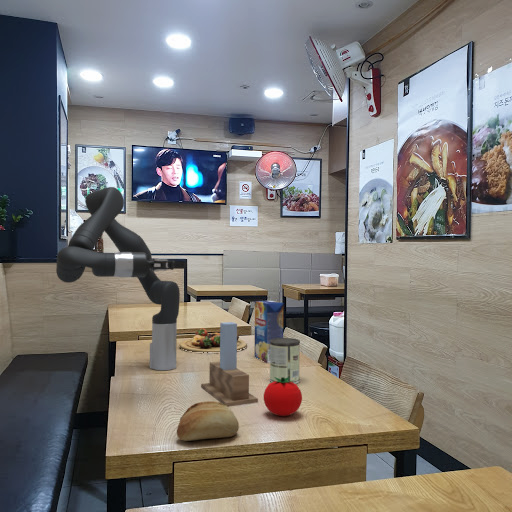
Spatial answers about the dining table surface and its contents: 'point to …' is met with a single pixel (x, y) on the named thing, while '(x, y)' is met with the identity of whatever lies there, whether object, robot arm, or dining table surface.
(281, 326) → the juice carton
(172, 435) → the dining table surface
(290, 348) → the coffee can
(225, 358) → the blue gray rectangular block
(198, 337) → the wooden plate with food
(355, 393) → the dining table surface
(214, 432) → the bread roll
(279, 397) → the tomato
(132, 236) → the robot arm
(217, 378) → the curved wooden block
